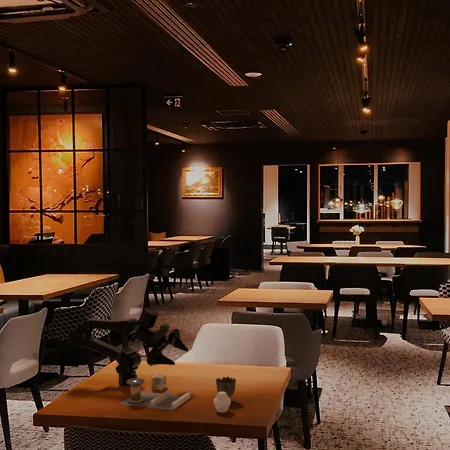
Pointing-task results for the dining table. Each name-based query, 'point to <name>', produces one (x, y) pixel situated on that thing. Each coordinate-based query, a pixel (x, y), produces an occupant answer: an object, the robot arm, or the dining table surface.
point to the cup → (226, 385)
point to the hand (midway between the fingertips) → (181, 357)
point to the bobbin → (135, 391)
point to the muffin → (222, 402)
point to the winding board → (161, 400)
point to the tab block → (158, 382)
